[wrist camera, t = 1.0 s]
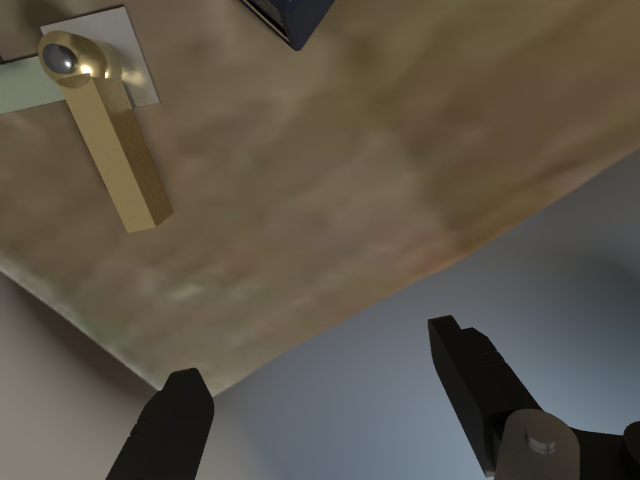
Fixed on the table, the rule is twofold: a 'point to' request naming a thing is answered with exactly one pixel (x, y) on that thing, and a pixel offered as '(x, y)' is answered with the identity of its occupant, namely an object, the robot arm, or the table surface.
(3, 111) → the base
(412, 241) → the table surface
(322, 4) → the speaker
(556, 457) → the robot arm
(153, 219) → the latch bar
